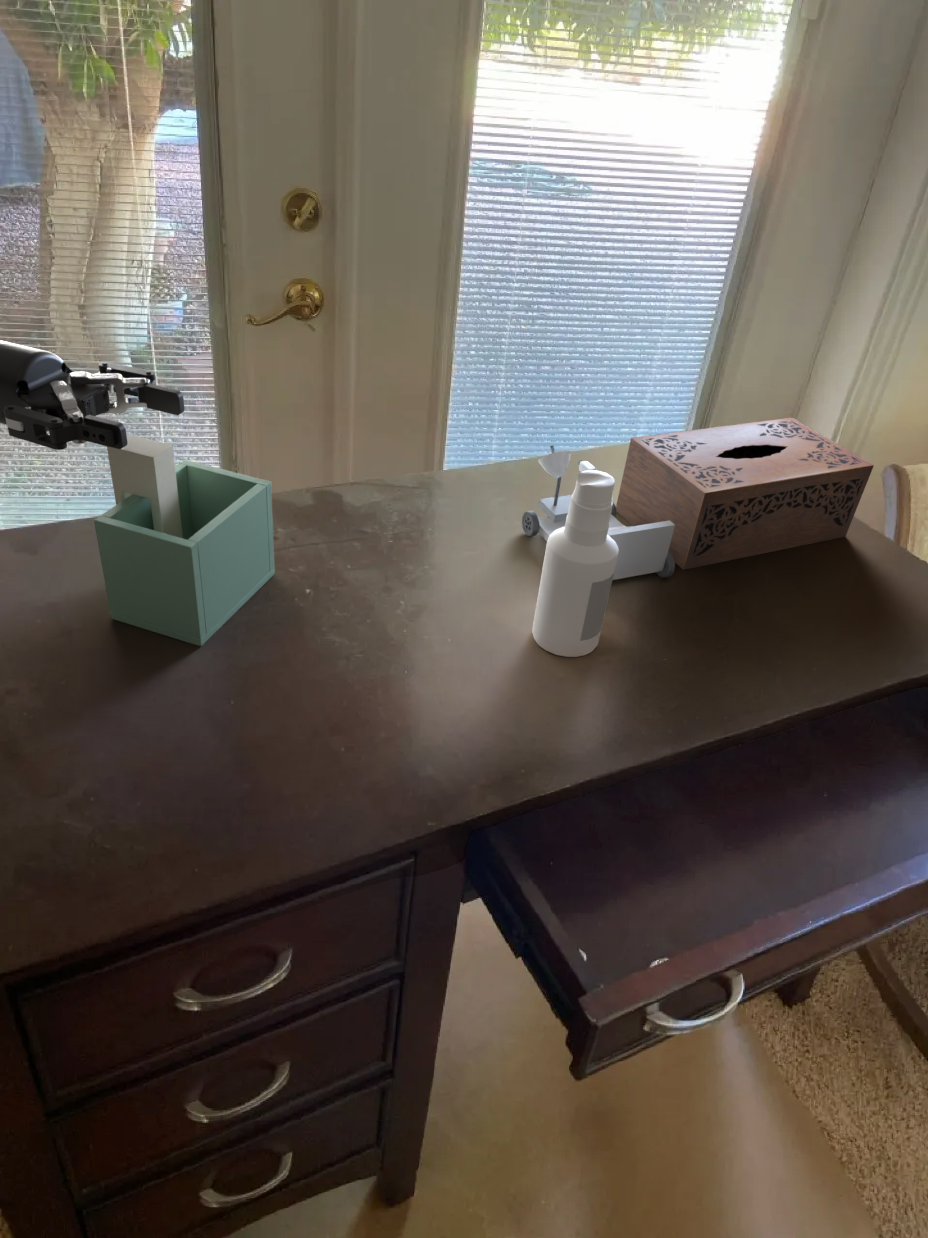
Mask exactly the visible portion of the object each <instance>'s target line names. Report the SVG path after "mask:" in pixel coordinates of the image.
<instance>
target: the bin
mask: <svg viewBox="0 0 928 1238" xmlns="http://www.w3.org/2000/svg"><path fill="white" fill-rule="evenodd" d="M175 472H176V481H177V490H178V499H179V508H180V517H181V526H182V535H183V538H179V537H175V536H172V535H168V534H165V533H161V532H158V531H154V525H153V518H152V510H151V503H150V499H149V498H145V497H142V496H138V495H134V494H132V495H130V496H129V497H127V498H126V499H124V500H123V501H121V502H120V503H119V504H117V505H116V504H115V505H114V506H112V507H111V508H110V509H108V510H107V511H105V512H103V513H102V514H101V515H99V516H98V517H96V518H95V519H93V523H94V529H95V535H96V541H97V545H98V551H99V556H100V563H101V568H102V574H103V579H104V587H105V591H106V597H107V602H108V607H109V608H108V609H109V612H110V613H109V614H110V618H111V620H113V621H118V622H120V623H123V624H127V625H131V626H133V627H137V628H140V629H143V630H146V631H150V632H153V633H156V634H160V635H162V636H165V637H169V638H171V639H176V640H179V641H182V642H184V643H187V644H192V645H194V646H199V647H202V646H203V645H205V643H207V641H209V640H210V639H211V638H212V637H213V635H215V634H216V633H217V632H218V631H219V630H220V629H221V628H222V627H223V626H224V625H225V624H226V623H227V622H228V621H229V620H230V619H231V618H232V617H233V616H234V615H235V614H236V613H237V612H238V611H239V610H240V609H241V608H242V607H243V606H244V605H246V603H247V602H248V601H249V600H250V599H251V598H252V597H253V596H254V595H255V594H256V593H257V592H258V591H259V590H260V589H261V588H262V587H263V586H264V585H265V584H266V583H267V582H268V581H269V580H270V579H271V578H272V577H273V576H274V575H275V574H276V572H275V571H276V569H275V567H276V565H275V546H274V542H275V541H274V521H273V519H274V518H273V499H272V495H273V494H272V481H269V480H266V479H261V478H258V477H254V476H249V475H247V474H242V473H239V472H235V471H231V470H227V469H224V468H219V467H215V466H211V465H208V464H203V463H200V462H196V461H192V460H188V459H184V458H183V459H182V460H180V461H179V462H178V463H176V464H175Z"/></svg>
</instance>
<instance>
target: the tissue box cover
mask: <svg viewBox="0 0 928 1238" xmlns="http://www.w3.org/2000/svg"><path fill="white" fill-rule="evenodd" d="M874 467H875V465H874V464H872V463H871V462H869V461H867V460H865V459H864V458H862V457H861V456H859V455H857V454H856V453H854V452H852V451H850V450H848V449H847V448H846V447H844V446H842V445H840V444H838V443H837V442H835V441H833V440H831V439H830V438H828V437H826V436H824V435H823V434H821V433H819V432H817V431H816V430H814V429H813V428H811V427H809V426H807V425H806V424H804V423H802V422H801V421H798V419H796V418H793V417H792V416H791V417H784V418H776V419H768V420H767V419H766V420H761V421H760V420H759V421H751V422H744V423H737V424H730V425H729V424H728V425H721V426H712V427H706V428H705V427H704V428H697V429H691V430H690V429H689V430H683V431H674V432H667V433H659V434H651V435H643V436H636V437H635V436H634V437H631V438H630V441H629V445H628V450H627V455H626V460H625V463H624V468H623V472H622V473H623V474H622V478H621V482H620V483H621V484H620V487H619V492H618V496H617V500H616V504H615V507H616V513H617V514H619V515H620V516H621V517H622V518H623V519H624V520H625V521H627V522H628V523H629V524H630V525H631V526H638V525H644V524H650V523H657V522H663V521H669V520H670V521H671V522H672V523H673V524H675V527H674V531H673V535H672V538H671V542H670V546H669V550H668V552H669V553H670V554H671V555H672V556H673V559H674V562H675V565H677V566H679V568H681V570H685V571H686V570H689V569H695V568H700V567H703V566H704V567H705V566H709V565H713V564H714V565H715V564H717V563H718V564H719V563H723V562H728V561H733V560H738V559H743V558H748V557H753V556H757V555H762V554H767V553H772V552H776V551H782V550H787V549H791V548H795V547H797V548H798V547H801V546H805V545H811V544H817V543H820V542H826V541H830V540H831V541H832V540H836V539H840V538H845V537H846V536H847V534H848V531H849V529H850V527H851V524H852V521H853V519H854V518H855V517H854V516H855V514H856V512H857V509H858V506H859V504H860V501H861V499H862V496H863V494H864V492H865V489H866V486H867V484H868V481H869V479H870V476H871V474H872V471H873V470H874Z"/></svg>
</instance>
